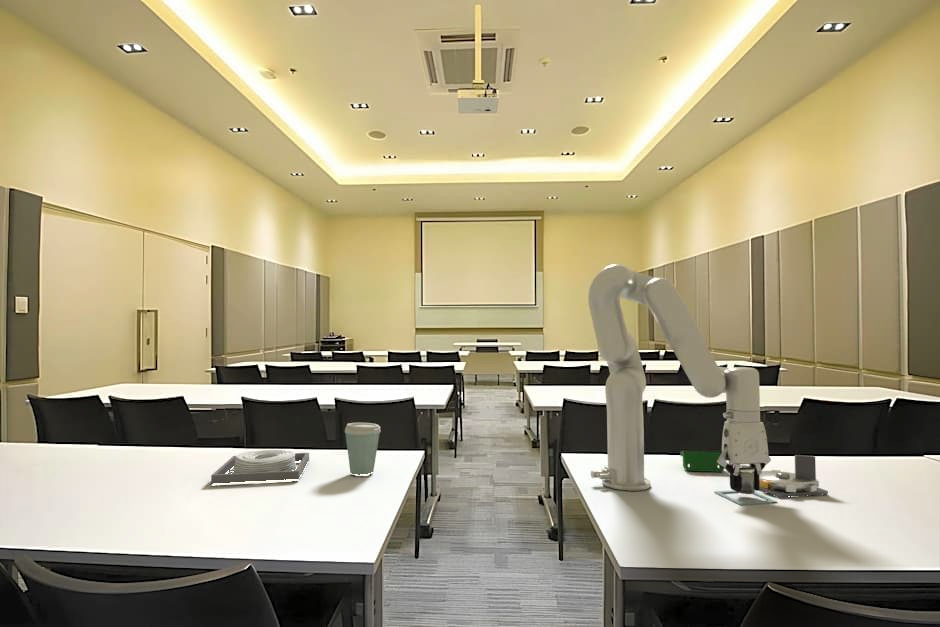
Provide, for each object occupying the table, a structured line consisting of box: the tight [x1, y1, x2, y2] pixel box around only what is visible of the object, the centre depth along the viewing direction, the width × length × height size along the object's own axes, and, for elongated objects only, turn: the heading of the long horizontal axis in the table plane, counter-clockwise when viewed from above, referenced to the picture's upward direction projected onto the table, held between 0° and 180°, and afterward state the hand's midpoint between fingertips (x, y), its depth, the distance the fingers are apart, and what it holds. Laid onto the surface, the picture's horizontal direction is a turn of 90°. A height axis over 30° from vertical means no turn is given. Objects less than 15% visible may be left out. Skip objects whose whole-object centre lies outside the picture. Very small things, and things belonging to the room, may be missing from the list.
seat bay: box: [714, 489, 778, 506], centre depth 134 cm, size 10×10×1 cm
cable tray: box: [210, 452, 310, 485], centre depth 159 cm, size 23×23×3 cm
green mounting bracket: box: [679, 450, 725, 473], centre depth 162 cm, size 12×6×9 cm, turn 76°
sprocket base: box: [759, 485, 829, 498], centre depth 142 cm, size 14×14×1 cm
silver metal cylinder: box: [736, 464, 756, 495], centre depth 134 cm, size 4×4×6 cm
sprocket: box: [759, 454, 820, 492], centre depth 142 cm, size 16×16×8 cm
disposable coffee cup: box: [344, 422, 382, 475], centre depth 158 cm, size 11×11×15 cm
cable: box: [228, 449, 297, 474], centre depth 160 cm, size 18×18×6 cm
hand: (744, 489), depth 134 cm, fingers closed on silver metal cylinder, 4 cm apart
